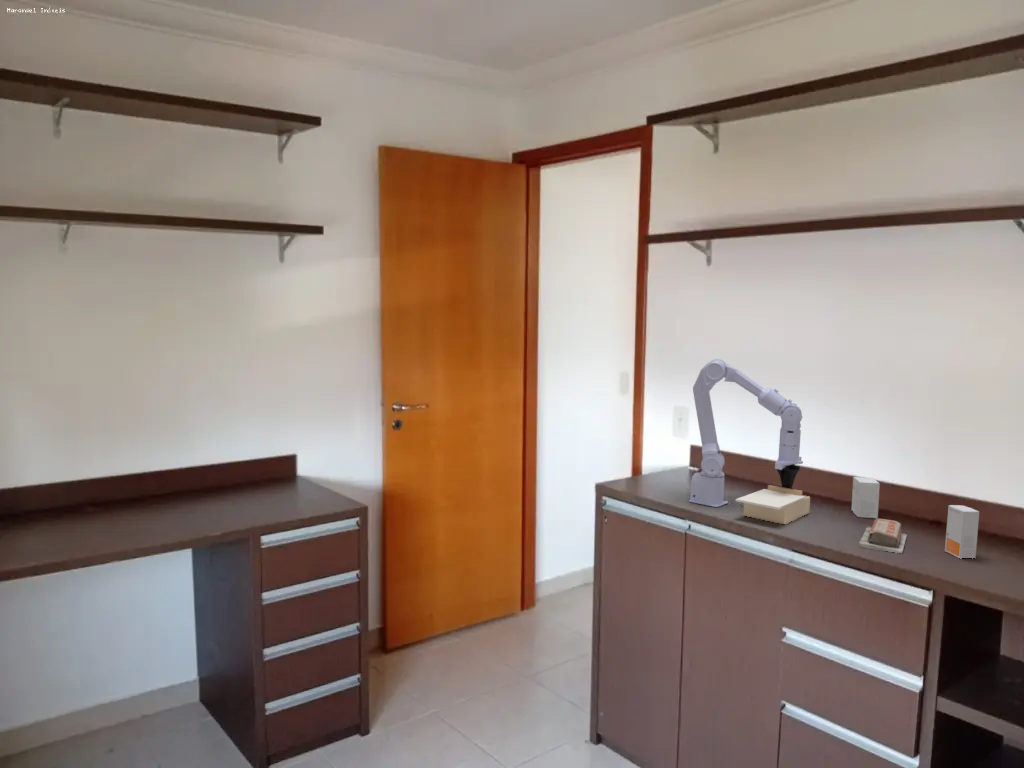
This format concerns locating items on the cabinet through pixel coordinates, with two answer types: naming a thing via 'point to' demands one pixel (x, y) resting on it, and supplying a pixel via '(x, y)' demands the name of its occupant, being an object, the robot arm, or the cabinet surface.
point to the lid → (773, 497)
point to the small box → (865, 497)
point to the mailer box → (779, 512)
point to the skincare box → (962, 531)
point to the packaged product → (884, 536)
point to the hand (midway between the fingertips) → (786, 490)
